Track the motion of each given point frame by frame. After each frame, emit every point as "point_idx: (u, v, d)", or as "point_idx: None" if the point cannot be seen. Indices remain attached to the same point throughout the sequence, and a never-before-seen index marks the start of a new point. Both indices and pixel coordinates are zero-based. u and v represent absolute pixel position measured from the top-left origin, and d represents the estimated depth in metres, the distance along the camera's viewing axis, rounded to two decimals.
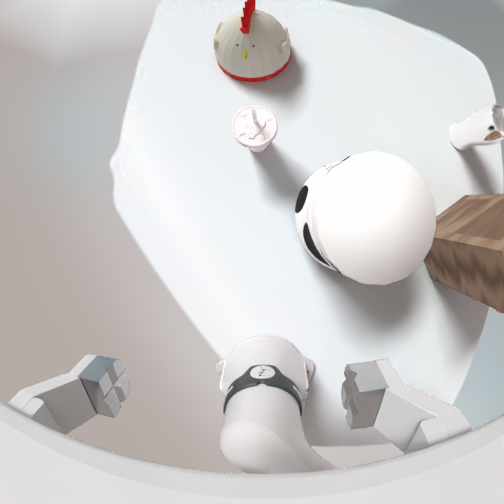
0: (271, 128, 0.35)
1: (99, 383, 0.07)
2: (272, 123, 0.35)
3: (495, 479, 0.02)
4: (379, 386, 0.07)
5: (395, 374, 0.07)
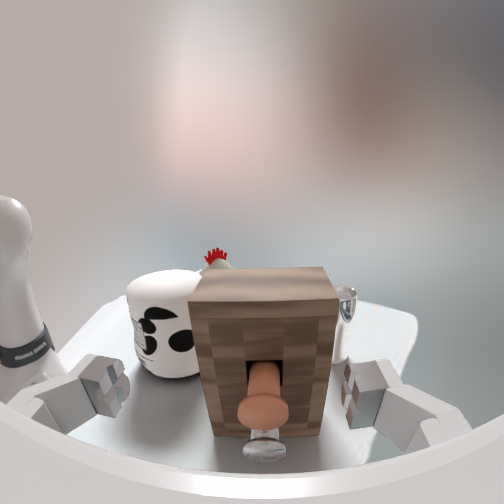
0: None
1: (99, 383, 0.07)
2: None
3: (495, 479, 0.02)
4: (379, 387, 0.07)
5: (395, 374, 0.07)
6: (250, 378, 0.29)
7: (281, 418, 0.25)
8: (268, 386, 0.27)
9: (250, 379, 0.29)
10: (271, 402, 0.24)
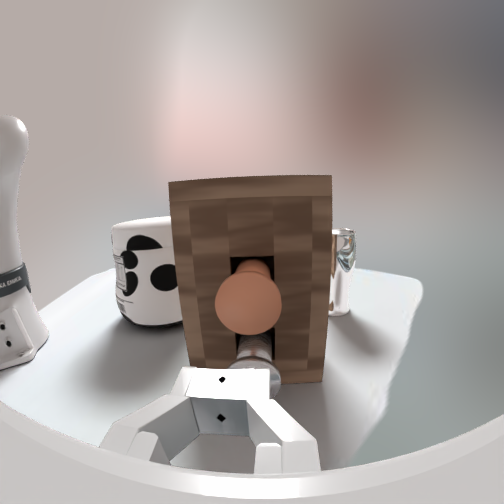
0: None
1: (217, 399, 0.07)
2: None
3: (495, 479, 0.02)
4: (241, 396, 0.07)
5: (266, 386, 0.07)
6: None
7: (272, 310, 0.21)
8: None
9: None
10: (258, 279, 0.21)
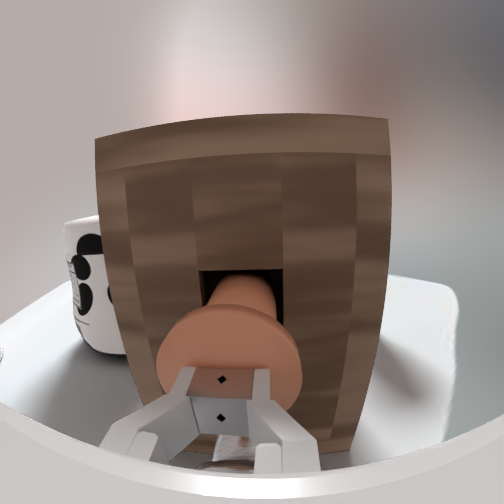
0: None
1: (217, 399, 0.07)
2: None
3: (495, 479, 0.02)
4: (241, 396, 0.07)
5: (266, 386, 0.07)
6: None
7: (281, 390, 0.09)
8: (247, 304, 0.11)
9: None
10: (248, 328, 0.08)
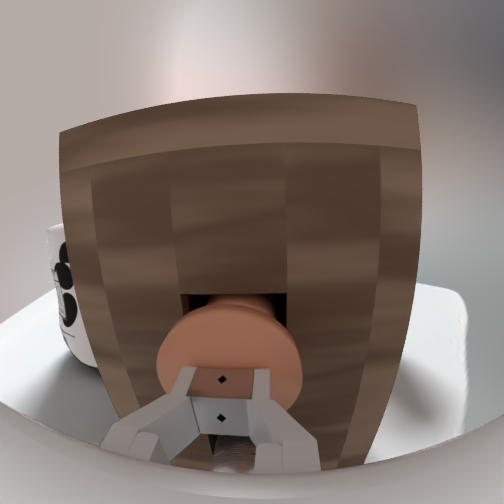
0: None
1: (217, 399, 0.07)
2: None
3: (495, 479, 0.02)
4: (241, 396, 0.07)
5: (266, 386, 0.07)
6: (209, 300, 0.14)
7: (281, 390, 0.09)
8: (247, 304, 0.11)
9: (208, 302, 0.14)
10: (249, 327, 0.08)
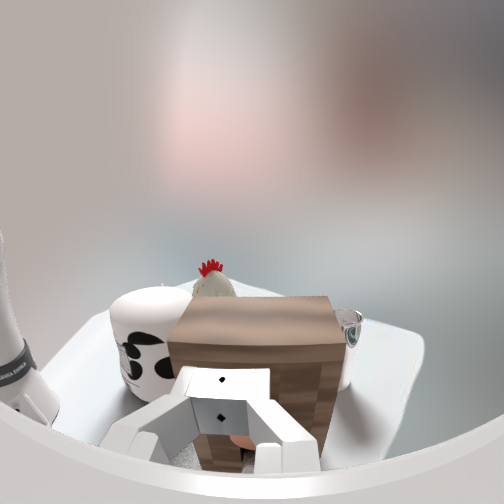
0: None
1: (217, 399, 0.07)
2: None
3: (495, 479, 0.02)
4: (241, 396, 0.07)
5: (266, 386, 0.07)
6: None
7: None
8: None
9: None
10: None
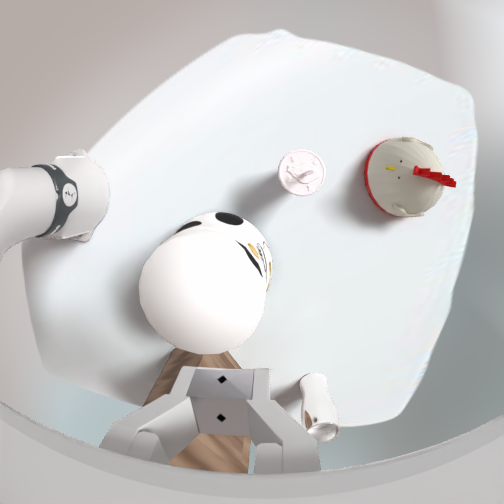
0: (298, 189, 0.36)
1: (217, 399, 0.07)
2: (304, 190, 0.36)
3: (495, 479, 0.02)
4: (241, 396, 0.07)
5: (266, 386, 0.07)
6: None
7: None
8: None
9: None
10: None
